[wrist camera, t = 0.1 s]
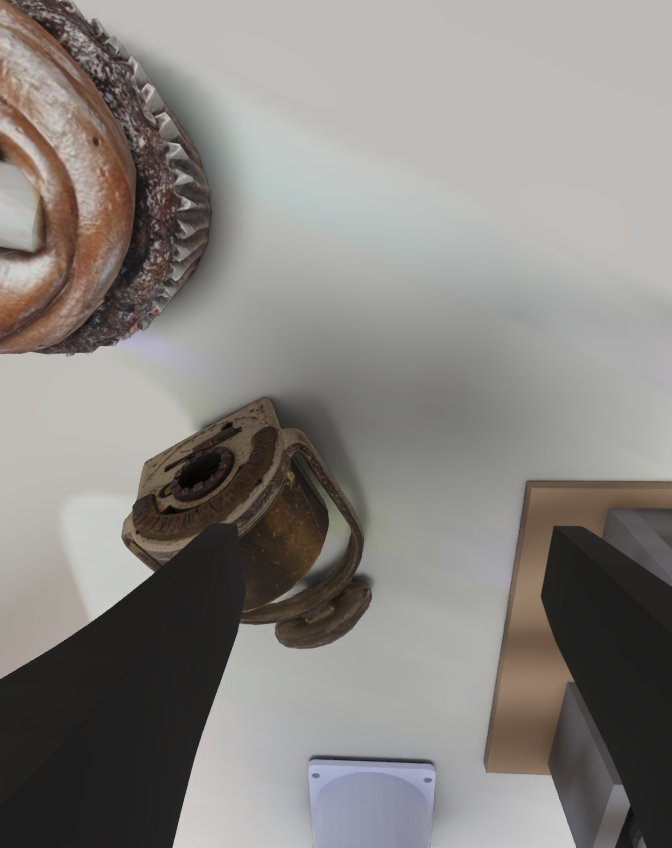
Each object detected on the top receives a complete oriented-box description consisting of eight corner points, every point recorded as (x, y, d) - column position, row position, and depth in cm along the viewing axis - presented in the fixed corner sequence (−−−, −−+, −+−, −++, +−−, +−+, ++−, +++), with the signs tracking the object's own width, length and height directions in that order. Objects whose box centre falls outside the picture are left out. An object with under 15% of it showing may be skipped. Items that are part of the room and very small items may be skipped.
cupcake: (129, 374, 20) (-69, 498, 11) (-70, 188, 18) (-548, 142, 8) (287, 213, 17) (201, 194, 8) (77, -37, 15) (-400, -483, 5)
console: (719, 771, 28) (800, 893, 23) (484, 761, 29) (510, 878, 24) (855, 482, 20) (1024, 569, 15) (527, 481, 21) (581, 563, 16)
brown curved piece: (397, 427, 15) (59, 468, 13) (407, 733, 18) (146, 788, 17) (352, 382, 21) (127, 406, 20) (366, 612, 25) (178, 645, 24)
